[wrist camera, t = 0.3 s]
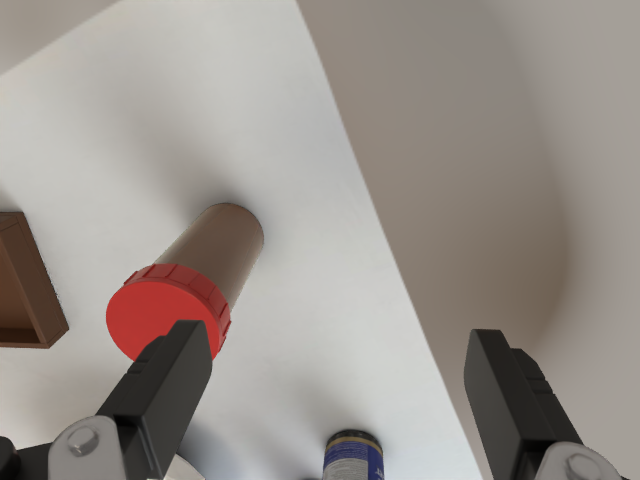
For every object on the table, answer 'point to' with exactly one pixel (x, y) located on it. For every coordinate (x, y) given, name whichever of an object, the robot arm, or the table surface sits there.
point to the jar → (219, 248)
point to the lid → (165, 307)
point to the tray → (25, 290)
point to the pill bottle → (353, 457)
